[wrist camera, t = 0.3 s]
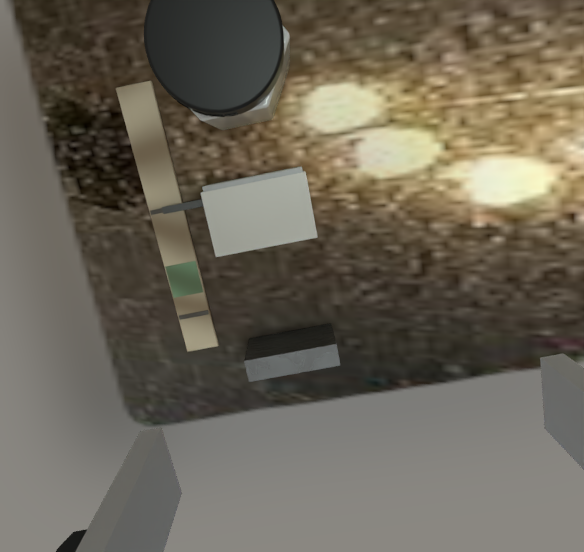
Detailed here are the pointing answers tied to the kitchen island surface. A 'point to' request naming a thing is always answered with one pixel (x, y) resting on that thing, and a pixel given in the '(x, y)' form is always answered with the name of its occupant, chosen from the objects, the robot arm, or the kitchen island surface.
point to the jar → (219, 57)
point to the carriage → (256, 211)
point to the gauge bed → (171, 226)
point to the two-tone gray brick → (291, 352)
